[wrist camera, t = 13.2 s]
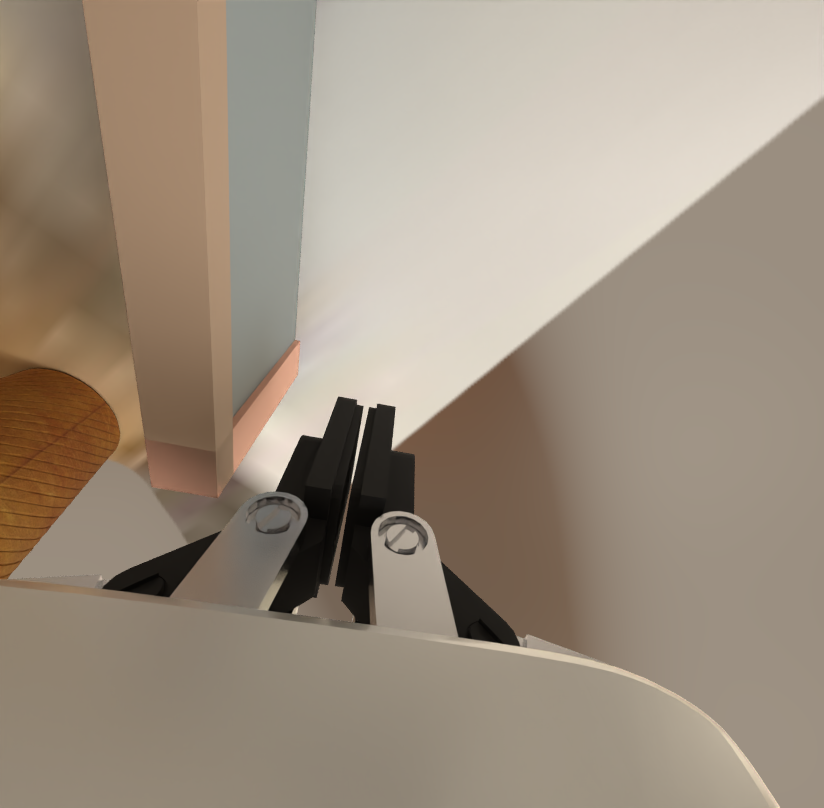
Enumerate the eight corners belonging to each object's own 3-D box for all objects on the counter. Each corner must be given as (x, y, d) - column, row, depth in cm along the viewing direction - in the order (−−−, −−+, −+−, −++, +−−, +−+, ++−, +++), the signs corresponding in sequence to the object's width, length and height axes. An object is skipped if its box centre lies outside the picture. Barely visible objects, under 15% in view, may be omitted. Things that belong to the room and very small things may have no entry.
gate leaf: (265, -117, 13) (-3, -592, 5) (331, -100, 13) (174, -534, 5) (257, 366, 21) (151, 486, 13) (297, 374, 21) (217, 498, 13)
